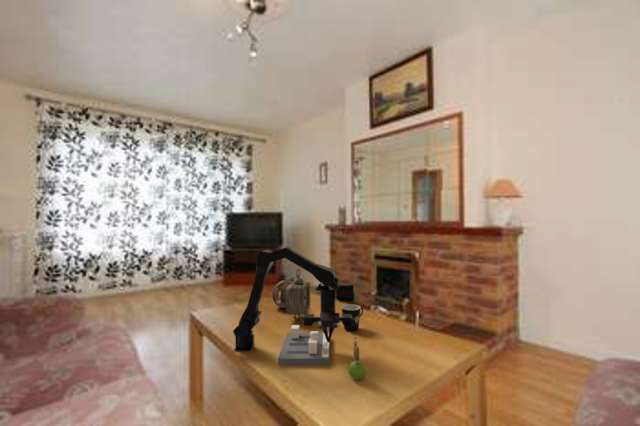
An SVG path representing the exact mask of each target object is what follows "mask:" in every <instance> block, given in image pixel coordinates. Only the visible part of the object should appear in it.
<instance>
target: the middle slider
mask: <svg viewBox="0 0 640 426" xmlns="http://www.w3.org/2000/svg"><path fill="white" fill-rule="evenodd" d="M309 333H310V338H317V346H318V333H319V331H317V330H314V331H313V330H312V331H311V330H310V332H309Z"/></svg>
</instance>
